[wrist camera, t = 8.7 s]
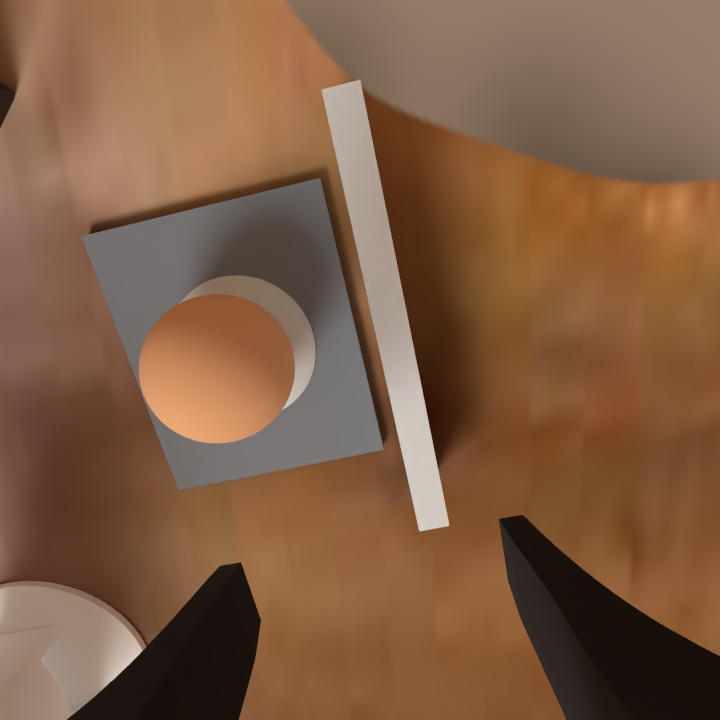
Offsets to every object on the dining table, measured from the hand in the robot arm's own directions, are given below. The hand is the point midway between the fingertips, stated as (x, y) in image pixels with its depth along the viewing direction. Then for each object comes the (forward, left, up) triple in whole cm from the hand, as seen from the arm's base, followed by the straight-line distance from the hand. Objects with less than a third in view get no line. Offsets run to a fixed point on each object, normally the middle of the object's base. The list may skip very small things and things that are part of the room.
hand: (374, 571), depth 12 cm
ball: (+5, -5, -6) cm, 9 cm away
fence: (-2, -5, -9) cm, 11 cm away
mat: (+5, -5, -9) cm, 12 cm away
